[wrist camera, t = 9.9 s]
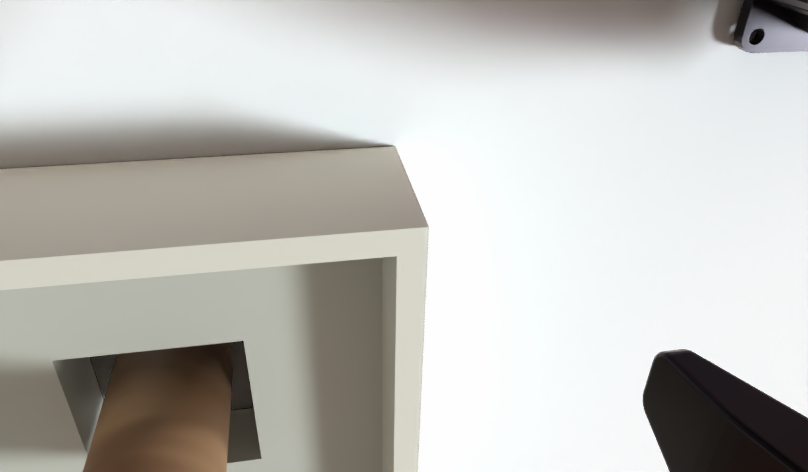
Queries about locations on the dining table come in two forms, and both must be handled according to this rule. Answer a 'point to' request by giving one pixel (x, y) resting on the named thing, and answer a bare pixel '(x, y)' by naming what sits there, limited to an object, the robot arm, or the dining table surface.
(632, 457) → the dining table surface
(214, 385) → the peg
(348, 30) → the dining table surface
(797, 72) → the dining table surface
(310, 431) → the bore box
